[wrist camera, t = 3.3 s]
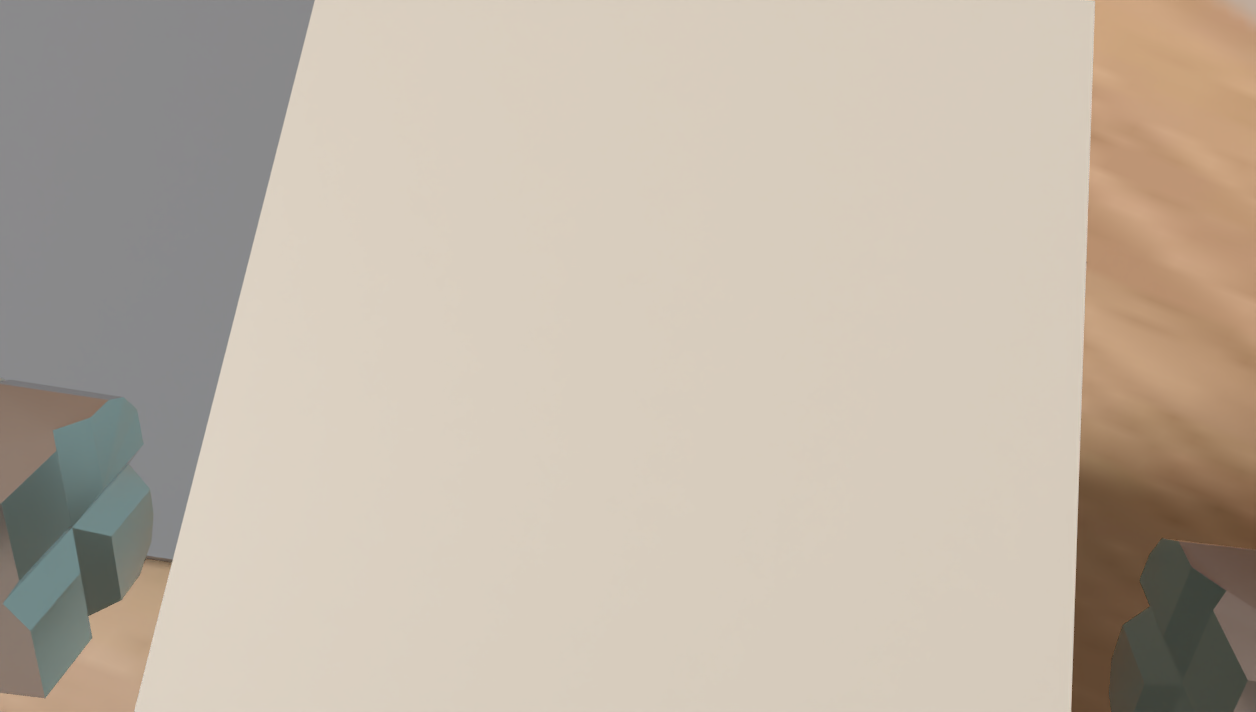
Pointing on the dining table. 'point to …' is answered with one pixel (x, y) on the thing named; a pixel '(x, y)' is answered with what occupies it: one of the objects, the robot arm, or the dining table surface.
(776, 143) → the tea tin
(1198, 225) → the dining table surface
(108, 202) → the felt mat
